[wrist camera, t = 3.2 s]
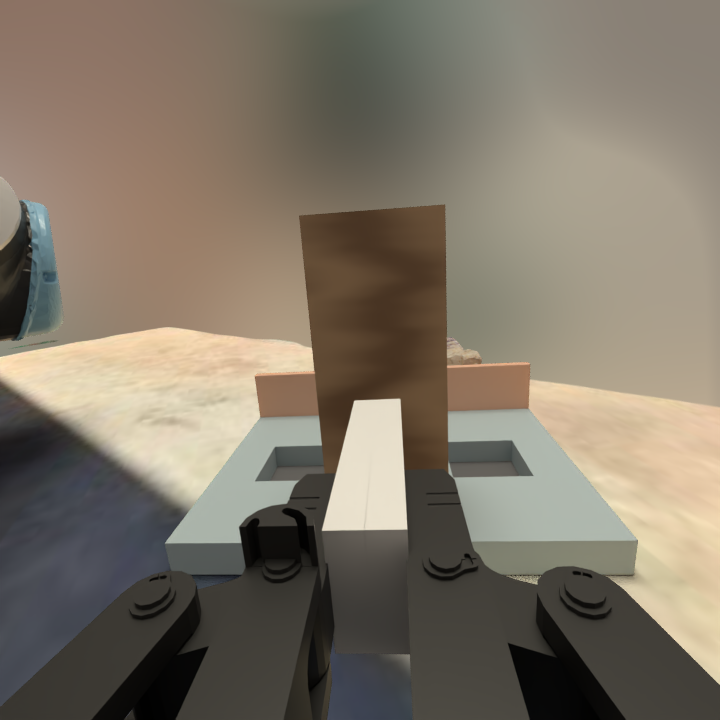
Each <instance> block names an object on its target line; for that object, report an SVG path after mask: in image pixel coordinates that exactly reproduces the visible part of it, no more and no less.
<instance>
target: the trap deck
mask: <svg viewBox="0 0 720 720" xmlns="http://www.w3.org/2000/svg"><path fill="white" fill-rule="evenodd" d="M255 381H256V388H257V395H258V403H259V410H260V419H259V420H258V421H257V423H256V424H255V425H254V427H253V428H252V429H251V431H250V432H249V433H248V435H247V436H246V437H245V438H244V440H243V441H242V442H241V444H240V445H239V446H238V448H237V449H236V450H235V452H234V453H233V454H232V456H231V457H230V458H229V460H228V461H227V462H226V464H225V465H224V466H223V467H222V469H221V470H220V471H219V473H218V474H217V475H216V477H215V478H214V479H213V481H212V482H211V483H210V485H209V486H208V487H207V489H206V490H205V491H204V492H203V494H202V495H201V496H200V498H199V499H198V500H197V502H196V503H195V504H194V506H193V507H192V508H191V510H190V511H189V512H188V514H187V515H186V516H185V518H184V519H183V520H182V521H181V523H180V524H179V525H178V527H177V528H176V529H175V531H174V532H173V533H172V535H171V536H170V537H169V539H168V540H167V541H166V543H165V547H166V551H167V556H168V560H169V565H170V569H171V571H182V572H185V573H187V574H189V575H242V573H243V571H244V569H245V561H244V555H243V549H242V543H241V537H240V531H239V526H240V525H241V524H242V522H243V521H244V520H245V519H246V518H247V517H248V516H250V515H252V514H253V513H255V512H256V511H258V510H261V509H263V508H266V507H269V506H272V505H280V504H287V502H288V500H289V499H290V498H289V497H290V495H291V493H292V490H293V488H294V485H295V484H296V483H297V482H298V481H300V480H301V479H302V478H303V477H304V476H305V475H306V474H323V473H325V472H324V462H323V452H322V442H321V432H320V422H319V412H318V401H317V391H316V381H315V371H310V372H287V373H263V374H256V375H255ZM529 382H530V364H529V363H527V362H521V363H498V364H474V365H451V366H447V390H448V469H449V474H450V475H451V476H452V477H453V478H454V479H455V482H456V486H457V490H458V495H459V497H460V501H461V506H462V508H463V512H464V516H465V519H466V523H467V527H468V530H469V534H470V538H471V542H472V545H473V548H474V551H475V552H477V553H478V554H479V555H480V557H481V559H482V561H483V562H484V564H485V565H486V566H487V567H489V568H490V569H491V570H493V571H495V572H497V573H499V574H501V575H543V573H544V572H545V571H548V570H550V569H553V568H555V567H562V566H575V567H580V568H584V569H589V570H592V571H594V572H597V573H599V574H601V575H634V568H635V560H636V552H637V544H638V540H637V539H636V538H635V536H634V535H633V534H632V533H631V532H630V530H629V529H628V528H627V527H626V526H625V524H624V523H623V522H622V521H621V519H620V518H619V517H618V516H617V515H616V513H615V512H614V511H613V510H612V509H611V507H610V506H609V505H608V504H607V503H606V501H605V500H604V499H603V498H602V497H601V495H600V494H599V493H598V492H597V491H596V489H595V488H594V487H593V486H592V485H591V483H590V482H589V481H588V480H587V478H586V477H585V476H584V475H583V474H582V472H581V471H580V470H579V469H578V468H577V466H576V465H575V464H574V463H573V462H572V460H571V459H570V458H569V457H568V456H567V454H566V453H565V452H564V451H563V450H562V448H561V447H560V446H559V445H558V444H557V442H556V441H555V440H554V439H553V437H552V436H551V435H550V434H549V433H548V431H547V430H546V429H545V428H544V427H543V425H542V424H541V423H540V422H539V421H538V419H537V418H536V417H535V416H534V415H533V413H532V412H531V411H530V410H529V409H528V407H529Z"/></svg>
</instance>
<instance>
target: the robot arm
mask: <svg viewBox="0 0 720 720" xmlns="http://www.w3.org/2000/svg"><path fill="white" fill-rule="evenodd" d="M63 319H64V314H63V307H62V301H61V293H60V287H59V280H58V273H57V267H56V261H55V253H54V247H53V240H52V233H51V227H50V220H49V214H48V210H47V209H46V207H45V206H43V205H42V204H40V203H34V202H30V201H28V200H20V201H19V200H18V198H17V196H16V194H15V192H14V191H13V189H12V187H11V186H10V185H9V184H8V183H7V182H6V180H5V179H3V178H2V177H1V176H0V341H6V340H12V341H17V340H21V339H23V338H24V337H29V336H35V335H41V334H47V333H51V332H53V331H55V330H57V329H58V328H59V327H60V326H61V325H62V323H63ZM289 498H290V499H289V500H288V502H287V504H280V505H272V506H269V507H266V508H263V509H261V510H258V511H256V512H255V513H253V514H252V515H250V516H248V517H247V518H246V519H245V520H244V521H243V522H242V524H241V525H240V526H239V531H240V537H241V543H242V549H243V555H244V561H245V569H244V571H243V573H242V576H240V577H238V578H237V579H234V580H231V581H228V582H225V583H221V584H217V585H213V586H209V587H205V588H202V589H198V590H197V586H196V583H195V581H194V579H193V577H192V576H191V575H189V574H187V573H185V572H182V571H165V572H161V573H157V574H153V575H151V576H149V577H147V578H145V579H142V580H140V581H138V582H136V583H135V584H134V585H132V586H131V587H130V588H128V589H127V590H126V591H124V592H123V593H122V594H121V595H120V596H119V597H118V598H117V599H116V600H114V601H113V602H112V603H111V604H110V605H109V606H108V607H107V608H106V609H105V610H104V611H103V612H102V613H101V614H99V615H98V616H97V617H96V618H95V619H94V620H93V621H92V622H91V623H90V624H89V625H88V626H87V627H86V628H84V629H83V630H82V631H81V632H80V633H79V634H78V635H77V636H76V637H75V638H74V639H73V640H72V641H71V642H69V643H68V644H67V645H66V646H65V647H64V648H63V649H62V650H61V651H60V652H59V653H58V654H57V655H56V656H54V657H53V658H52V659H51V660H50V661H49V662H48V663H47V664H46V665H45V666H44V667H43V668H42V669H41V670H39V671H38V672H37V673H36V674H35V675H34V676H33V677H32V678H31V679H30V680H29V681H28V682H27V683H25V684H24V685H23V686H22V687H21V688H20V689H19V690H18V691H17V692H16V693H15V694H14V695H13V696H12V697H10V698H9V699H8V700H7V701H6V702H5V703H4V704H3V705H2V706H1V707H0V720H327V715H328V708H329V701H330V693H331V686H332V676H331V664H330V654H331V647H332V641H333V637H334V646H335V653H344V654H410V663H411V687H412V712H413V720H720V685H719V684H718V683H717V682H716V681H715V680H714V679H713V678H712V677H711V676H710V675H709V674H708V673H707V672H706V671H705V670H704V669H703V668H702V667H701V666H700V665H699V664H698V663H697V662H696V661H695V660H694V659H693V658H692V657H691V656H690V655H689V654H688V653H687V652H686V651H685V650H684V649H683V648H682V647H681V646H680V645H679V644H678V643H677V642H676V641H675V640H674V639H673V638H672V637H671V636H670V635H669V634H668V633H667V632H666V631H665V630H664V629H663V628H662V627H661V626H660V625H659V624H658V623H657V622H656V621H655V620H654V619H653V618H652V617H651V616H650V615H649V614H648V613H647V612H646V611H645V610H644V609H643V608H642V607H641V606H640V605H639V604H638V603H637V602H636V601H635V600H634V599H633V598H632V597H631V596H630V595H629V594H628V593H627V592H626V591H625V590H624V589H622V588H621V587H620V586H618V585H617V584H616V583H614V582H613V581H612V580H611V579H609V578H608V577H605V576H603V575H601V574H599V573H597V572H594V571H592V570H589V569H584V568H580V567H575V566H562V567H555V568H553V569H550V570H548V571H545V572H544V573H543V575H542V576H541V577H540V578H539V580H538V585H536V584H531V583H527V582H523V581H519V580H515V579H512V578H509V577H506V576H503V575H501V574H499V573H497V572H495V571H493V570H491V569H490V568H489V567H487V566H486V565H485V564H484V562H483V561H482V559H481V557H480V555H479V554H478V553H477V552H475V551H474V548H473V545H472V542H471V538H470V534H469V530H468V527H467V523H466V519H465V516H464V512H463V508H462V506H461V501H460V497H459V495H458V490H457V486H456V482H455V479H454V478H453V477H452V476H451V475H450V474H448V473H447V472H446V471H445V470H444V469H417V470H404V457H403V438H402V420H401V401H400V399H380V400H357V401H354V404H353V408H352V412H351V416H350V420H349V424H348V428H347V432H346V436H345V440H344V444H343V448H342V452H341V456H340V460H339V464H338V468H337V472H336V473H323V474H306V475H305V476H304V477H303V478H302V479H301V480H300V481H298V482H297V483H296V484H295V485H294V488H293V490H292V493H291V495H290V497H289ZM131 710H132V711H131ZM130 711H131V712H130ZM129 712H130V714H129ZM128 714H129V715H128ZM127 715H128V716H127ZM126 716H127V717H126ZM125 717H126V718H125Z"/></svg>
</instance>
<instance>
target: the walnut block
mask: <svg viewBox="0 0 720 720" xmlns="http://www.w3.org/2000/svg"><path fill="white" fill-rule="evenodd" d="M299 219H300V228H301V239H302V249H303V259H304V269H305V279H306V289H307V299H308V310H309V319H310V330H311V341H312V351H313V361H314V371H315V381H316V391H317V401H318V412H319V422H320V432H321V442H322V452H323V462H324V472H325V473H336V472H337V468H338V464H339V460H340V456H341V452H342V448H343V444H344V440H345V436H346V432H347V428H348V424H349V420H350V416H351V412H352V408H353V404H354V401H357V400H380V399H400V401H401V420H402V438H403V457H404V470H417V469H444V470H445V471H446V472H447V473H448V474H449V469H448V390H447V314H446V313H447V311H446V237H445V236H446V231H445V205H433V206H420V207H409V208H408V207H407V208H394V209H381V210H368V211H355V212H341V213H328V214H315V215H303V216H299Z"/></svg>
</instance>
